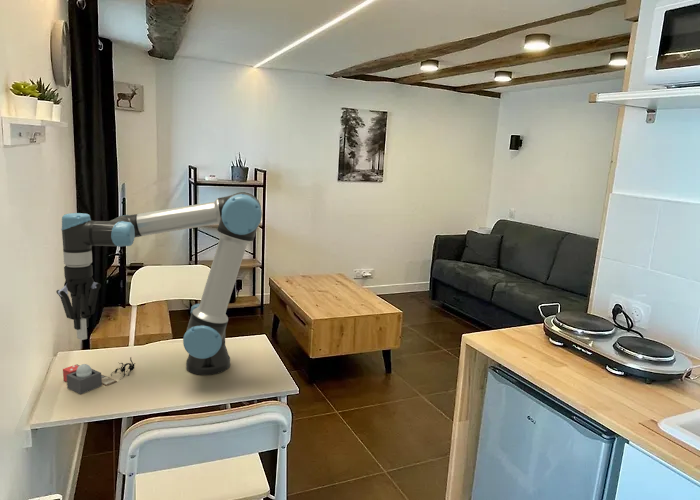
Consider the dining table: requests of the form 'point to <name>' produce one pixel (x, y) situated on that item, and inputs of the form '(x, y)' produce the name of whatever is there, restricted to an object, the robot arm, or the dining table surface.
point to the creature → (124, 368)
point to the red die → (69, 371)
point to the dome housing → (84, 382)
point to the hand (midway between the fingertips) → (82, 338)
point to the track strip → (106, 380)
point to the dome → (83, 371)
